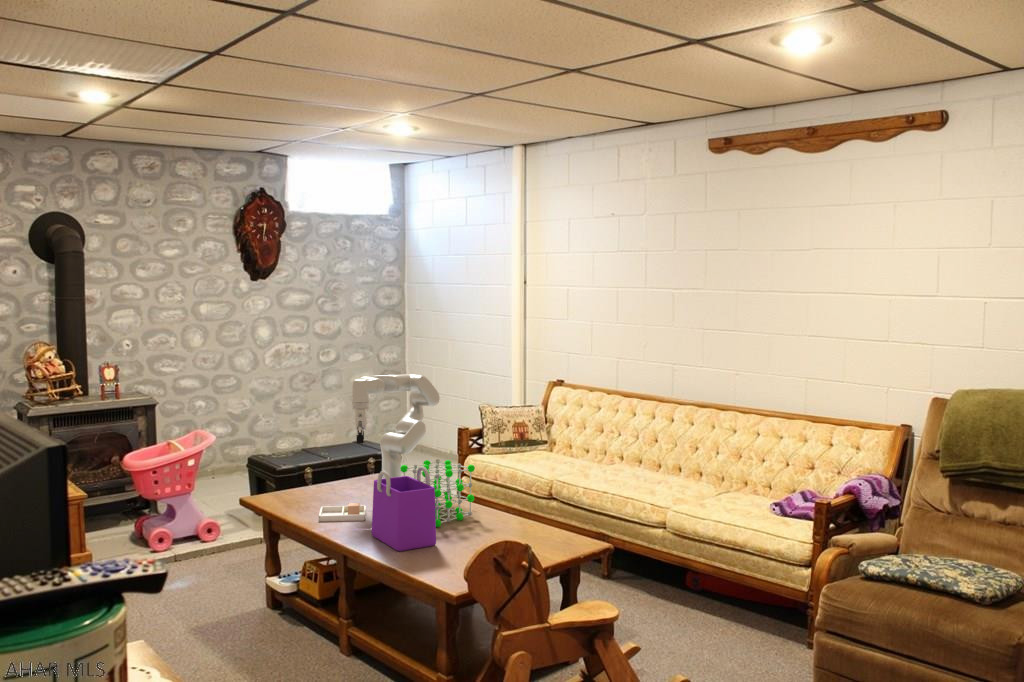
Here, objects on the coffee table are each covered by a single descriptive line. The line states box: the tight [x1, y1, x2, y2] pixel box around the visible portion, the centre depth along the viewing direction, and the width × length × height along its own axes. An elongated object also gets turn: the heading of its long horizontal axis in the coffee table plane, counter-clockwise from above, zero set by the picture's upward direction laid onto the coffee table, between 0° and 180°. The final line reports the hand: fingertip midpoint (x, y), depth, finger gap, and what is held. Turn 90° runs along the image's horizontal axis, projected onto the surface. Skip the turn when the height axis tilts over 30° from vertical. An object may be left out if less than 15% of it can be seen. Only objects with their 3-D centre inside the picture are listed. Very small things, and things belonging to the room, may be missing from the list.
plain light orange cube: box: [347, 502, 361, 515], centre depth 388 cm, size 5×5×5 cm
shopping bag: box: [371, 466, 437, 552], centre depth 352 cm, size 28×22×30 cm
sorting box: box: [318, 505, 367, 522], centre depth 387 cm, size 20×16×3 cm
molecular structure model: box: [400, 458, 476, 528], centre depth 388 cm, size 24×25×24 cm
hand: (360, 441), depth 407 cm, fingers open, 9 cm apart
